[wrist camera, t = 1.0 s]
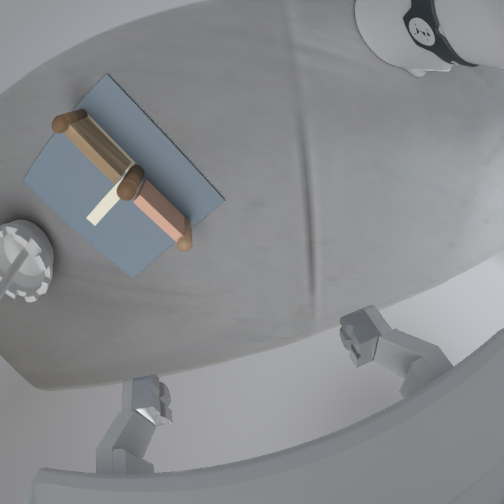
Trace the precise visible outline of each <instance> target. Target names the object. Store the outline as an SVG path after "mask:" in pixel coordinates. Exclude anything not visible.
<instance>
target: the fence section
mask: <svg viewBox="0 0 504 504" xmlns="http://www.w3.org/2000/svg"><path fill="white" fill-rule="evenodd" d="M133 203H134V204H136V205H137V206H138V207H139V208H140V209H141V210H142V211H143V212H144V213H145V214H146V215H147V216H148V217H149V218H151V219H152V220H153V221H154V222H155V223H156V224H157V225H158V226H159V227H160V228H161V229H162V230H164V231H165V232H166V233H167V234H168V235H169V236H170V237H171V238H172V239H173V240H175V241H176V242H177V247H178V249H179V250H181V251H183V252H186V251H189V250H190V249H191V248H192V230H191V220H190V218H188V217H185V216H184V215H183V214H181V213H180V212H179V211H178V210H177V209H176V208H175V207H174V206H173V205H172V204H171V203H170V202H169V201H168V200H167V199H166V198H165V197H164V196H163V195H162V194H161V193H160V192H159V191H158V190H157V189H156V188H155V187H154V186H153V185H152V184H151V183H150V182H149V181H148V180H147V179H146V180H145V181H144V182H143V183H142V184H141V185H140V187H139V189H138V192H137V194H136V196H135V198H134V201H133Z"/></svg>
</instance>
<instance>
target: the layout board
mask: <svg viewBox="0 0 504 504" xmlns="http://www.w3.org/2000/svg"><path fill="white" fill-rule="evenodd" d="M79 109H84V110H85V111H86V112H87V114H88V118H89V119H90V120H91V121H92V122H93V123H94V124H95V125H96V126H97V127H98V129H99V130H100V131H101V132H102V133H103V134H104V135H105V136H106V137H107V138H108V139H109V140H110V141H111V142H112V143H113V144H114V145H115V146H116V147H117V148H118V149H119V150H120V151H121V152H122V153H123V154H124V155H125V156H126V157H127V158H128V159H129V160H130V161H131V164H130V165H129V166H128V168H127V169H126V171H125V172H124V174H123V175H122V177H121V178H120V179H119V180H118V181H117V182H116V183H115V184H114V183H113V182H112V181H111V180H110V179H108V178H107V177H106V176H105V175H104V174H103V173H102V172H101V171H100V170H99V169H98V168H97V167H96V166H95V165H94V164H93V163H92V162H91V161H90V160H89V159H88V158H87V157H86V156H85V155H84V154H83V153H82V152H81V151H80V150H79V149H78V148H77V147H76V146H75V145H74V143H73V142H72V141H71V140H70V139H69V138H68V137H67V136H66V135H65V134H64V133H60V134H57V133H55V134H54V135H53V137H52V138H51V139H50V141H49V142H48V143H47V145H46V146H45V148H44V149H43V151H42V152H41V153H40V155H39V156H38V158H37V159H36V161H35V162H34V164H33V166H32V167H31V169H30V170H29V172H28V173H27V175H26V177H25V178H24V180H23V181H24V182H25V183H26V184H27V185H28V186H29V187H30V188H31V189H32V190H33V191H34V192H35V193H36V194H37V195H38V196H39V197H40V198H41V199H42V200H43V201H44V202H45V203H46V204H47V205H48V206H49V207H50V208H51V209H52V210H53V211H54V212H55V213H56V214H57V215H58V216H60V217H61V218H62V219H63V220H64V221H65V222H66V223H67V224H68V225H69V226H70V227H72V228H73V229H74V230H75V231H76V232H77V233H78V234H79V235H81V236H82V237H83V238H84V239H85V240H86V241H87V242H89V243H90V244H91V245H92V246H93V247H95V248H96V249H97V250H98V251H99V252H100V253H102V254H103V255H104V256H105V257H106V258H108V259H109V260H110V261H111V262H113V263H114V264H115V265H116V266H118V267H119V268H120V269H121V270H123V271H124V272H125V273H126V274H128V275H129V276H130V277H132V278H134V277H135V276H136V275H137V274H138V273H139V272H141V271H142V270H143V269H144V268H145V267H146V266H147V265H148V264H150V263H151V262H152V261H153V260H154V259H155V258H156V257H158V256H159V255H160V254H161V253H162V252H163V251H165V250H166V249H167V248H168V247H169V246H170V245H172V244H173V243H174V242H175V240H173V239H172V238H171V237H170V236H169V235H168V234H167V233H166V232H165V231H164V230H162V229H161V228H160V227H159V226H158V225H157V224H156V223H155V222H154V221H153V220H152V219H151V218H149V217H148V216H147V215H146V214H145V213H144V212H143V211H142V210H141V209H140V208H139V207H138V206H137V205H136V204H134V203H133V201H134V198H135V196H136V194H137V192H138V190H137V192H136V194H135V196H134V198H133V199H131V200H129V201H124V200H121V199H120V198H119V197H118V195H117V187H118V185H119V184H120V182H121V181H122V179H123V178H124V176H125V175H126V173H127V172H128V170H129V169H130V167H132V166H134V165H139V166H141V167H142V168H143V170H144V177H143V179H142V181H141V183H140V185H141V184H142V183H143V182H144V181H145V180H146V179H147V180H148V181H149V182H150V183H151V184H152V185H153V186H154V187H155V188H156V189H157V190H158V191H159V192H160V193H161V194H162V195H163V196H164V197H165V198H166V199H167V200H168V201H169V202H170V203H171V204H172V205H173V206H174V207H175V208H176V209H177V210H178V211H179V212H180V213H181V214H183V215H184V216H185V217H188V218H190V220H191V228H192V227H193V226H194V225H195V224H197V223H198V222H199V221H200V220H201V219H203V218H204V217H205V216H206V215H208V214H209V213H210V212H211V211H213V210H214V209H215V208H216V207H218V206H219V205H220V204H221V203H223V202H224V201H225V200H224V199H223V197H222V196H221V195H220V194H219V193H218V192H217V191H216V190H215V189H214V188H213V186H212V185H211V184H210V183H209V182H208V181H207V180H206V179H205V178H204V177H203V176H202V174H201V173H200V172H199V171H198V170H197V169H196V168H195V167H194V166H193V165H192V164H191V163H190V161H189V160H188V159H187V158H186V157H185V156H184V155H183V154H182V153H181V152H180V151H179V150H178V148H177V147H176V146H175V145H174V144H173V143H172V142H171V141H170V140H169V139H168V138H167V137H166V136H165V134H164V133H163V132H162V131H161V130H160V129H159V128H158V127H157V126H156V125H155V124H154V123H153V122H152V121H151V120H150V118H149V117H148V116H147V115H146V114H145V113H144V112H143V111H142V110H141V109H140V108H139V107H138V106H137V105H136V104H135V103H134V102H133V100H132V99H131V98H130V97H129V96H128V95H127V94H126V93H125V92H124V91H123V90H122V89H121V88H120V87H119V86H118V85H117V84H116V83H115V82H114V81H113V80H112V78H111V77H110V76H109V75H108V74H106V75H105V76H104V77H103V78H102V79H101V80H100V81H99V82H98V83H97V84H96V86H95V87H94V88H93V89H92V90H91V91H90V92H89V93H88V94H87V95H86V96H85V97H84V98H83V100H82V101H81V102H80V103H79V104H78V105H77V106H76V108H75V109H74V110H73V111H76V110H79ZM140 185H139V187H140ZM138 189H139V188H138Z"/></svg>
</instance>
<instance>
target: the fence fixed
mask: <svg viewBox="0 0 504 504" xmlns="http://www.w3.org/2000/svg"><path fill="white" fill-rule="evenodd" d="M52 129H53V131H54V132H55V133H57V134H60V133H64V134H65V135H66V136H67V137H68V138H69V139H70V140H71V141H72V142H73V143H74V145H75V146H76V147H77V148H78V149H79V150H80V151H81V152H82V153H83V154H84V155H85V156H86V157H87V158H88V159H89V160H90V161H91V162H92V163H93V164H94V165H95V166H96V167H97V168H98V169H99V170H100V171H101V172H102V173H103V174H104V175H105V176H106V177H107V178H108V179H110V180H111V181H112V182H113V183H114V184H115V183H116V182H117V181H118V180H119V179H120V178H121V177H122V175H123V174H124V172H125V171H126V169H127V168H128V166H129V165H130V164H131V161H130V160H129V159H128V158H127V157H126V156H125V155H124V154H123V153H122V152H121V151H120V150H119V149H118V148H117V147H116V146H115V145H114V144H113V143H112V142H111V141H110V140H109V139H108V138H107V137H106V136H105V135H104V134H103V133H102V132H101V131H100V130H99V129H98V127H97V126H96V125H95V124H94V123H93V122H92V121H91V120H90V119H89V118H88V114H87V112H86V111H85V110H84V109H79V110H76V111H72V112H69V113H65V114H62V115H59V116H56V117H55V118H54V120H53V122H52ZM143 177H144V170H143V168H142V167H141V166H139V165H134V166H132V167H130V169H129V170H128V172H127V173H126V175H125V176H124V178H123V179H122V181H121V182H120V184H119V185H118V187H117V195H118V197H119V198H120V199H121V200H124V201H129V200H131V199H133V198H134V196H135V194H136V192H137V190H138V188H139V185H140V183H141V181H142V179H143Z"/></svg>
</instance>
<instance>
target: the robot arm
mask: <svg viewBox="0 0 504 504" xmlns="http://www.w3.org/2000/svg"><path fill="white" fill-rule="evenodd" d="M355 18H356V23H357V26H358V29H359V31H360V33H361V35H362V37H363V39H364V41H365V42H366V44H367V45H368V46H369V48H370V49H371V50H372V51H373V52H374V53H375V54H376V55H377V56H378V57H379V58H381V59H382V60H383V61H385V62H387V63H389V64H391V65H394V66H397V67H401V68H404V69H406V70H407V71H408V72H409V73H411V74H412V75H413V76H415V77H423V76H424V75H425V74H426V73H427V72H428V71H450V70H451V68H452V67H453V66H454V65H458V66H464V67H469V66H471V67H475V66H478V65H483V66H488V67H493V68H497V69H501V70H504V0H356V3H355ZM340 324H341V325H342V327H341V329H340V336H341V340H342V342H343V345H344V347H345V348H346V349H347V350H350V357H351V359H352V361H353V362H354V364H355V366H356V367H359V366H362V365H364V364H366V363H368V362H371V361H373V360H374V362H376V363H377V364H379V365H381V366H383V367H384V368H386V369H388V370H390V371H391V372H393V373H395V374H397V375H398V376H400V377H402V378H404V379H405V380H404V382H403V384H402V387H401V389H400V393H401V395H402V396H403V398H404V399H403V400H400V401H399V402H397V403H395V404H393V405H391V406H389V407H387V408H385V409H384V410H382V411H380V412H378V413H376V414H374V415H371V416H370V417H367V418H365V419H363V420H361V421H359V422H357V423H354V424H352V425H350V426H347V427H345V428H343V429H340V430H338V431H336V432H333V433H331V434H328V435H326V436H323V437H320V438H317V439H315V440H312V441H309V442H306V443H303V444H300V445H297V446H294V447H291V448H288V449H285V450H281V451H278V452H274V453H271V454H267V455H263V456H259V457H255V458H251V459H247V460H243V461H238V462H234V463H228V464H223V465H218V466H212V467H206V468H199V469H192V470H184V471H174V472H162V473H154V467H153V464H152V463H150V462H148V461H146V460H144V459H143V457H144V454H145V451H146V450H147V447H148V445H149V443H150V440H151V438H152V436H153V433H154V431H155V429H156V426H159V425H164V424H170V423H172V411H171V410H170V408H168V406H169V404H170V402H171V399H170V394H169V390H168V388H167V387H166V385H165V384H164V383H162V382H159V377H158V376H157V375H156V374H155V375H150V376H144V377H139V378H133V379H127V380H124V382H123V390H122V411H121V412H119V413H118V414H117V416H116V418H115V419H114V421H113V422H112V424H111V426H110V427H109V429H108V430H107V432H106V434H105V435H104V437H103V439H102V440H101V442H100V444H99V445H98V447H97V449H96V473H86V472H75V471H65V470H57V469H51V468H40V469H39V470H38V471H37V472H36V474H35V475H34V477H33V478H32V479H31V481H30V483H29V484H28V486H27V489H26V494H25V504H504V328H503V329H501V330H499V331H498V332H497V333H496V334H495V335H493V336H492V337H491V338H490V339H489V340H488V341H486V342H485V343H484V344H483V345H482V346H480V347H479V348H478V349H477V350H475V351H474V352H473V353H472V354H470V355H469V356H468V357H466V358H465V359H464V360H463V361H461V362H460V363H458V364H457V365H456V366H454V367H453V365H452V364H451V363H450V361H449V360H448V359H447V357H446V356H445V355H444V353H443V352H442V351H441V349H440V348H439V347H438V346H436V345H434V344H431V343H429V342H426V341H424V340H421V339H419V338H416V337H414V336H412V335H409V334H406V333H404V332H402V331H399V330H397V329H393V330H392V329H391V327H390V326H389V325H388V323H387V322H386V321H385V319H384V318H383V317H382V315H381V314H380V313H379V312H378V310H377V309H376V308H375V306H373V305H369V306H367V307H365V308H363V309H359V310H357V311H355V312H353V313H350V314H348V315H345V316H343V317H341V319H340Z"/></svg>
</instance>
